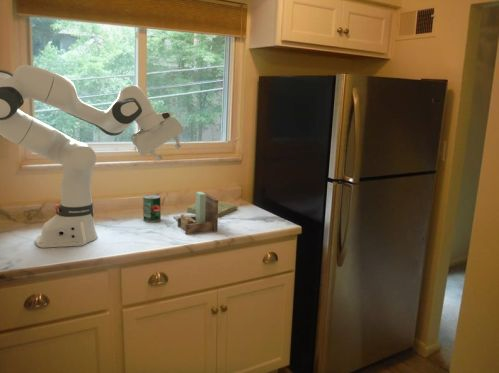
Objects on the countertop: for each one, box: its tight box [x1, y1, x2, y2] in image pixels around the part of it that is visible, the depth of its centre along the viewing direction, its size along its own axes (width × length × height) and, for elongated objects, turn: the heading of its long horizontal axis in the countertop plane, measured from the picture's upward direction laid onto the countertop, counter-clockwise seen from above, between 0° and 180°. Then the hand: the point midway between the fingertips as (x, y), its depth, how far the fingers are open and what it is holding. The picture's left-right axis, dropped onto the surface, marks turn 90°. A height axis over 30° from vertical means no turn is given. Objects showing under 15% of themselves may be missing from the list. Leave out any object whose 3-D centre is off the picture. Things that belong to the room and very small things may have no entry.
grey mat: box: [173, 214, 196, 222], centre depth 204 cm, size 12×12×1 cm
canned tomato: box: [142, 194, 162, 222], centre depth 202 cm, size 8×8×11 cm
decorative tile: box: [186, 200, 238, 218], centre depth 222 cm, size 19×20×4 cm
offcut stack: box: [180, 214, 196, 231], centre depth 189 cm, size 4×8×6 cm, turn 27°
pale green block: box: [195, 191, 206, 223], centre depth 190 cm, size 3×5×16 cm, turn 27°
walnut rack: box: [177, 192, 219, 235], centre depth 190 cm, size 14×14×14 cm
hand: (170, 153), depth 172 cm, fingers open, 8 cm apart
